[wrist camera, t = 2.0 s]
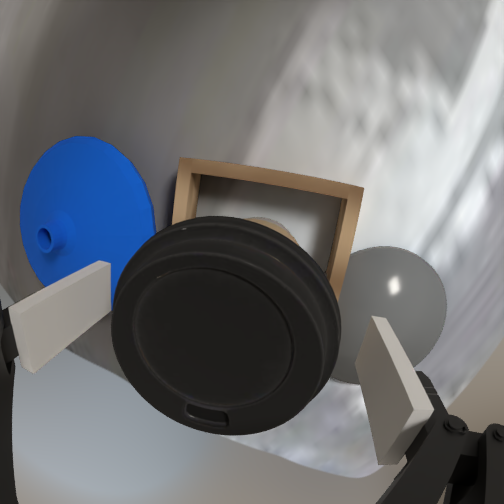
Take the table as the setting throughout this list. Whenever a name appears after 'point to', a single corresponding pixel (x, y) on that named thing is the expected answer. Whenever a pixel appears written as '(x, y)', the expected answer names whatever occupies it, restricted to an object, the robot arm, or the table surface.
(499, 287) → the table surface
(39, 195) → the blue spouted lid
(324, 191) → the wooden square frame
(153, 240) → the coffee cup
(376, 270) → the grey round plate
